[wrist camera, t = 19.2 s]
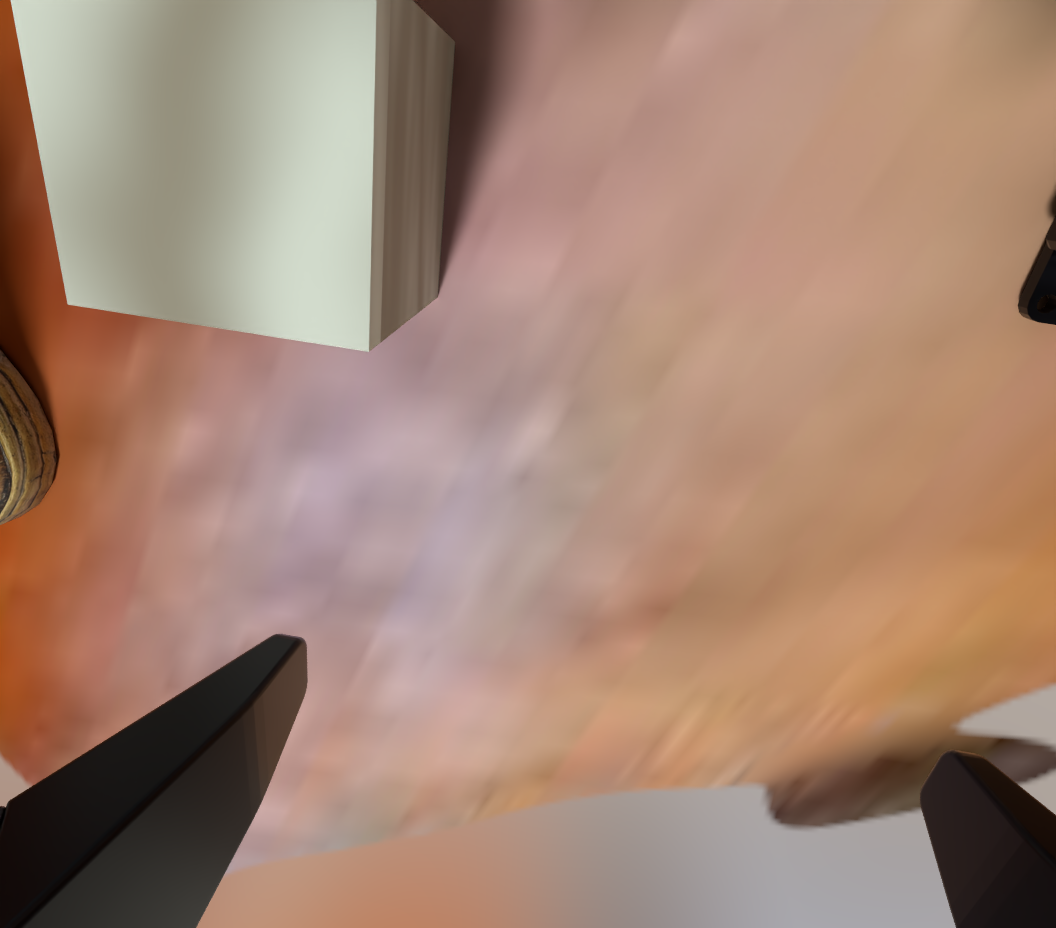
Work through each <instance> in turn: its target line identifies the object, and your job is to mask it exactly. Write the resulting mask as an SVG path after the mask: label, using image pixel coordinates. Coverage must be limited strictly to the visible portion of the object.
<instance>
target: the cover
mask: <svg viewBox="0 0 1056 928" xmlns="http://www.w3.org/2000/svg"><path fill="white" fill-rule="evenodd" d="M11 4H12V10H13V15H14V20H15V26H16V31H17V36H18V42H19V47H20V52H21V58H22V63H23V68H24V74H25V79H26V84H27V89H28V95H29V100H30V105H31V111H32V116H33V121H34V127H35V132H36V137H37V143H38V148H39V153H40V159H41V164H42V169H43V175H44V180H45V185H46V191H47V196H48V201H49V207H50V212H51V217H52V223H53V228H54V233H55V239H56V244H57V249H58V255H59V260H60V265H61V271H62V276H63V281H64V287H65V292H66V297H67V303H68V305H75V306H81V307H88V308H94V309H100V310H107V311H113V312H119V313H126V314H132V315H138V316H145V317H151V318H157V319H164V320H170V321H177V322H183V323H189V324H196V325H202V326H208V327H215V328H221V329H227V330H234V331H240V332H246V333H253V334H259V335H265V336H272V337H278V338H285V339H291V340H297V341H304V342H310V343H316V344H323V345H329V346H335V347H342V348H348V349H354V350H361V351H367V352H369V351H370V350H372V349H373V348H374V347H375V346H377V345H378V344H379V343H381V342H382V341H383V340H384V339H386V338H387V337H388V336H389V335H391V334H392V333H393V332H394V331H396V330H397V329H398V328H399V327H401V326H402V325H403V324H404V323H406V322H407V321H408V320H410V319H411V318H412V317H413V316H415V315H416V314H417V313H418V312H420V311H421V310H422V309H423V308H425V307H426V306H427V305H428V304H430V303H431V302H432V301H433V300H435V299H436V298H437V297H438V285H439V270H440V256H441V241H442V227H443V212H444V198H445V183H446V168H447V154H448V139H449V125H450V110H451V95H452V81H453V66H454V52H455V41H454V40H453V39H452V38H451V37H450V36H449V35H448V34H447V33H446V32H445V31H444V30H442V29H441V28H440V27H439V26H438V25H437V24H436V23H435V22H434V21H433V20H432V19H431V18H430V17H429V16H428V15H427V14H426V13H425V12H424V11H423V10H422V9H421V8H420V7H419V6H418V5H417V4H416V3H415V2H414V1H413V0H11Z"/></svg>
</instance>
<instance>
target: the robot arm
mask: <svg viewBox="0 0 1056 928" xmlns="http://www.w3.org/2000/svg"><path fill="white" fill-rule="evenodd" d="M1046 241H1047V242H1046V244H1045V247H1044V249H1043V251H1042V253H1041V255H1040V257H1039V259H1038V261H1037V263H1036V266H1035V268H1034V270H1033V272H1032V274H1031V276H1030V278H1029V280H1028V282H1027V284H1026V287H1025V289H1024V291H1023V293H1022V295H1021V297H1020V300H1019V303H1018V309H1019V312H1020V314H1021V315H1022V316H1023V317H1025V318H1028V319H1030V320H1033V321H1037V322H1041V323H1047V324H1054V325H1056V217H1055V219H1054V221H1053V223H1052V225H1051V227H1050V229H1049V231H1048V233H1047V236H1046ZM1046 295H1047V296H1048V302H1047V304H1046V305H1045V306H1044V307H1043V308H1041V309H1040V310H1038V309H1037V304H1038V302H1039V300H1040V299H1041V298H1042V297H1044V296H1046ZM307 681H308V678H307V645H306V642H305V640H304V639H303V638H301V637H296V636H290V635H285V634H275V635H273V636H271V637H269V638H268V639H266V640H264V641H263V642H261V643H260V644H258V645H256V646H255V647H253V648H252V649H250V650H248V651H247V652H245V653H244V654H242V655H240V656H239V657H237V658H236V659H234V660H233V661H231V662H229V663H228V664H226V665H225V666H223V667H221V668H220V669H218V670H217V671H215V672H213V673H212V674H210V675H209V676H207V677H205V678H204V679H202V680H201V681H199V682H197V683H196V684H194V685H193V686H191V687H190V688H188V689H186V690H185V691H183V692H182V693H180V694H178V695H177V696H175V697H174V698H172V699H170V700H169V701H167V702H166V703H164V704H162V705H161V706H159V707H158V708H156V709H154V710H153V711H151V712H150V713H148V714H147V715H145V716H143V717H142V718H140V719H139V720H137V721H135V722H134V723H132V724H131V725H129V726H127V727H126V728H124V729H123V730H121V731H119V732H118V733H116V734H115V735H113V736H111V737H110V738H108V739H107V740H105V741H104V742H102V743H100V744H99V745H97V746H96V747H94V748H92V749H91V750H89V751H88V752H86V753H84V754H83V755H81V756H80V757H78V758H76V759H75V760H73V761H72V762H70V763H68V764H67V765H65V766H64V767H62V768H60V769H59V770H57V771H56V772H54V773H53V774H51V775H49V776H48V777H46V778H45V779H43V780H41V781H40V782H38V783H37V784H35V785H33V786H32V787H30V788H29V789H27V790H25V791H24V792H22V793H21V794H19V795H18V796H16V797H15V798H13V799H11V800H10V801H9V802H8V803H7V806H6V807H4V806H0V928H196V927H197V925H198V923H199V921H200V919H201V917H202V915H203V914H204V912H205V910H206V908H207V906H208V904H209V902H210V900H211V898H212V897H213V895H214V893H215V891H216V889H217V887H218V885H219V883H220V881H221V879H222V878H223V876H224V874H225V872H226V870H227V868H228V866H229V864H230V862H231V860H232V859H233V857H234V855H235V853H236V851H237V849H238V847H239V845H240V843H241V842H242V840H243V838H244V836H245V834H246V832H247V830H248V828H249V826H250V824H251V823H252V821H253V819H254V817H255V815H256V813H257V811H258V809H259V807H260V804H261V802H262V800H263V798H264V795H265V793H266V791H267V788H268V786H269V783H270V781H271V778H272V776H273V774H274V771H275V769H276V766H277V764H278V761H279V759H280V756H281V754H282V751H283V749H284V746H285V744H286V741H287V739H288V736H289V734H290V731H291V729H292V726H293V724H294V721H295V719H296V716H297V714H298V711H299V709H300V706H301V704H302V701H303V699H304V696H305V693H306V688H307ZM920 804H921V809H922V813H923V816H924V820H925V823H926V826H927V830H928V833H929V837H930V840H931V844H932V847H933V851H934V854H935V858H936V861H937V864H938V868H939V872H940V875H941V879H942V882H943V886H944V889H945V893H946V896H947V899H948V903H949V906H950V910H951V913H952V916H953V919H954V922H955V925H956V928H1056V815H1055V814H1054V813H1052V812H1051V811H1050V810H1048V809H1047V808H1046V807H1045V806H1044V805H1043V804H1041V803H1040V802H1039V801H1038V800H1036V799H1035V798H1034V797H1032V796H1031V795H1030V794H1029V793H1027V792H1026V791H1025V790H1024V789H1023V788H1021V787H1020V786H1019V785H1018V784H1017V783H1015V782H1014V781H1013V780H1012V779H1010V778H1009V777H1008V776H1007V775H1005V774H1004V773H1003V772H1002V771H1000V770H999V769H998V768H997V767H996V766H994V765H993V764H992V763H991V762H989V761H988V760H987V759H985V758H984V757H982V756H980V755H978V754H974V753H968V752H963V751H957V750H948V751H946V752H944V753H943V754H942V755H941V756H940V758H939V760H938V761H937V763H936V765H935V766H934V768H933V769H932V771H931V773H930V774H929V776H928V778H927V779H926V781H925V782H924V784H923V786H922V788H921V792H920Z"/></svg>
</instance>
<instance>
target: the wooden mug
mask: <svg viewBox="0 0 1056 928" xmlns="http://www.w3.org/2000/svg"><path fill="white" fill-rule="evenodd" d="M56 461H57V458H56V452H55V446H54V440H53V434H52V430H51V428H50V425H49V423H48V421H47V419H46V416H45V414H44V412H43V409H42V407H41V405H40V402H39V400H38V398H37V397H36V396H35V394H34V393H33V391H32V390H31V389H30V387H29V386H28V384H27V383H26V382H25V380H24V379H23V377H22V376H21V375H20V373H19V372H18V371H17V370H16V368H15V367H14V366H13V365H12V363H11V362H10V361H9V360H8V359H7V357H6V356H5V355H4V354H3V352H2V351H1V350H0V525H1V524H4V523H6V522H8V521H11V520H13V519H16V518H18V517H20V516H22V515H23V514H25V513H26V512H28V511H29V510H31V509H32V508H34V507H35V506H37V505H38V504H40V502H41V500H42V499H43V497H44V496H45V494H46V492H47V491H48V489H49V488H50V486H51V484H52V481H53V476H54V471H55V466H56Z"/></svg>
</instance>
